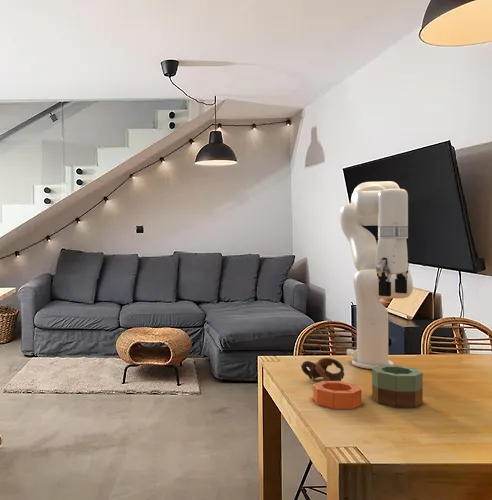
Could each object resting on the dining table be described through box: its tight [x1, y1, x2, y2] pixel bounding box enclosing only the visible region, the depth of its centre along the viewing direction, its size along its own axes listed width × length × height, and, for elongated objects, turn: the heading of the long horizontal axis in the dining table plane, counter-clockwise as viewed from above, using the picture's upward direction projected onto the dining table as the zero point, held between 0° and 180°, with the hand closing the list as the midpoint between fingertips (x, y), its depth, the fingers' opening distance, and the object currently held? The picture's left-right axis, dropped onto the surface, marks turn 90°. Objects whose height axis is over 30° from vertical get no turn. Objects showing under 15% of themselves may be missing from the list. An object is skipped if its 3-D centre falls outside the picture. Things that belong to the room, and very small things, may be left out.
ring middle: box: [371, 364, 424, 392], centre depth 138 cm, size 11×11×4 cm
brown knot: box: [300, 357, 345, 381], centre depth 156 cm, size 12×10×8 cm
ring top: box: [312, 380, 363, 410], centre depth 138 cm, size 11×11×4 cm
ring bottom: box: [371, 382, 424, 409], centre depth 138 cm, size 11×11×4 cm
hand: (393, 294), depth 149 cm, fingers open, 9 cm apart
